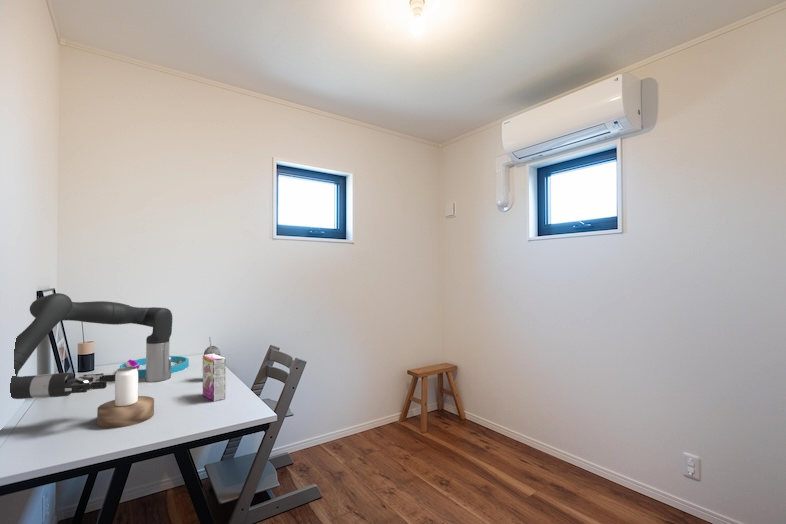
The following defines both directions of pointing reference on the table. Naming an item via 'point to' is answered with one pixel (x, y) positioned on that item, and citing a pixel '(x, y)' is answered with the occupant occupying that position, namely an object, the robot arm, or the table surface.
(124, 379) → the can
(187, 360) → the blue ring
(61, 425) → the table surface
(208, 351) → the beverage cup
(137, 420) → the tan rounded flat lump
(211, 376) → the candy bar box
